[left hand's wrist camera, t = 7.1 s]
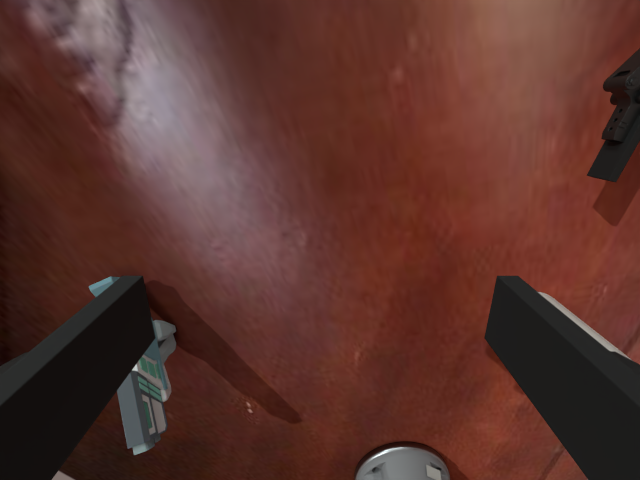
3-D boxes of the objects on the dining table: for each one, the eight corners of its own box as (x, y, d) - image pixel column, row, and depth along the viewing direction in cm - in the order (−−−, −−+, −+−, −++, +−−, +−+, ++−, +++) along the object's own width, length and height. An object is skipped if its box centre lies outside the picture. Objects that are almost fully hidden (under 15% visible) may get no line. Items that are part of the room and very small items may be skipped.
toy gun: (179, 428, 44) (117, 462, 34) (148, 289, 49) (86, 285, 39) (203, 419, 43) (148, 451, 34) (169, 279, 48) (112, 273, 39)
